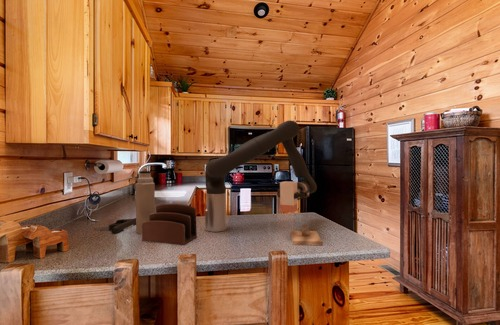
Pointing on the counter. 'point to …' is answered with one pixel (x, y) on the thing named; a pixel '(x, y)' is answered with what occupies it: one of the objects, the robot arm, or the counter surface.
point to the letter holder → (171, 224)
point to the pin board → (305, 237)
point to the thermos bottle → (144, 199)
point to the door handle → (118, 225)
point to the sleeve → (288, 197)
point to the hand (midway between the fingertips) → (287, 195)
